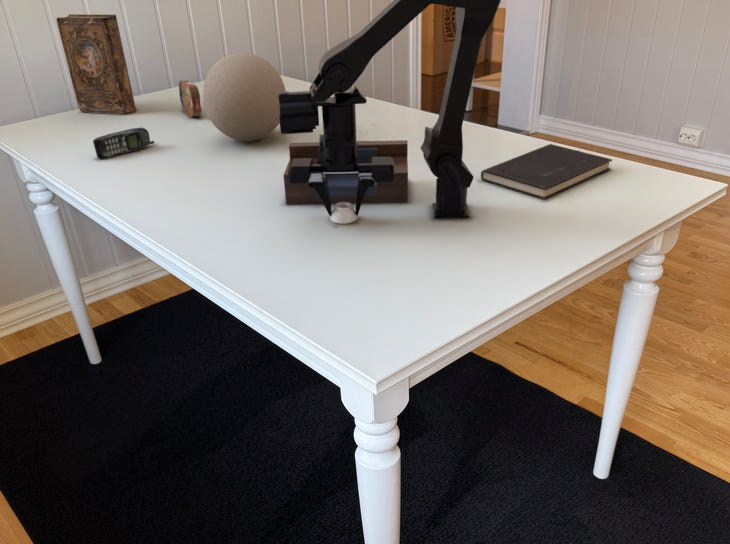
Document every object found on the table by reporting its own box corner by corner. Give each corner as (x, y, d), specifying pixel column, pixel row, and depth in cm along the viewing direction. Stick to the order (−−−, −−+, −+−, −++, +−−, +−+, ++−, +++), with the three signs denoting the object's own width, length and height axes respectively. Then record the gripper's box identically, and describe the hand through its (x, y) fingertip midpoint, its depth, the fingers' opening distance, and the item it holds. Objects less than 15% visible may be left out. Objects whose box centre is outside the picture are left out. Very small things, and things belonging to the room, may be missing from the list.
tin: (181, 108, 198) (175, 77, 193) (191, 106, 199) (186, 76, 194) (193, 120, 187) (188, 88, 182) (205, 119, 188) (200, 87, 183)
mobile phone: (94, 140, 159) (153, 125, 166) (89, 137, 161) (148, 122, 168) (100, 161, 162) (158, 145, 169) (95, 158, 164) (152, 142, 171)
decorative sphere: (196, 150, 165) (181, 62, 154) (228, 126, 181) (216, 45, 170) (274, 153, 161) (265, 63, 150) (299, 128, 177) (293, 45, 165)
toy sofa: (407, 202, 133) (408, 159, 128) (286, 204, 135) (282, 162, 130) (407, 180, 143) (407, 140, 138) (293, 182, 145) (290, 142, 140)
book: (139, 109, 199) (119, 14, 184) (128, 114, 194) (107, 17, 180) (90, 107, 203) (67, 14, 189) (79, 112, 199) (55, 17, 184)
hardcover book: (610, 170, 144) (612, 159, 142) (544, 200, 132) (546, 188, 130) (546, 153, 154) (547, 143, 152) (480, 180, 142) (481, 169, 140)
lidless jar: (362, 218, 128) (342, 212, 130) (362, 203, 126) (341, 197, 129) (345, 227, 125) (325, 221, 127) (344, 212, 123) (324, 206, 126)
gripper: (393, 115, 124) (394, 197, 133) (292, 118, 125) (299, 199, 134) (393, 134, 115) (393, 221, 124) (283, 136, 116) (292, 222, 125)
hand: (343, 214), depth 127 cm, fingers open, 5 cm apart
